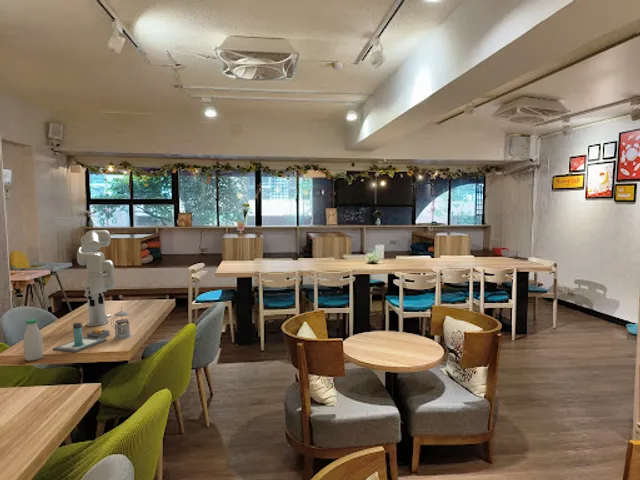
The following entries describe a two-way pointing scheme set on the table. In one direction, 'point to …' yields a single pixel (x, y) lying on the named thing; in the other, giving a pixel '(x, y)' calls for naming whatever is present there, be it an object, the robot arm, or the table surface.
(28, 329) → the milk bottle
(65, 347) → the drawing board
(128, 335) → the french press
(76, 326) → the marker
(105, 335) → the button housing
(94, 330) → the button
